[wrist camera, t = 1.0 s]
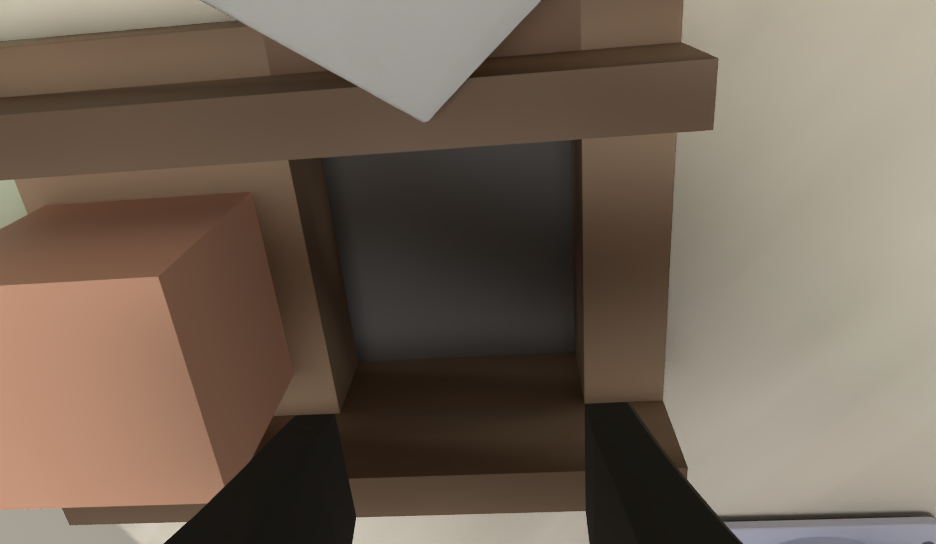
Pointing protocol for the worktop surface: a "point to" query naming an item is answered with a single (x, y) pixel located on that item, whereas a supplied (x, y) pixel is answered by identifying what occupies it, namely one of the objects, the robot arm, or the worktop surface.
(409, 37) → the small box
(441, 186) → the trap channel
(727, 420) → the worktop surface
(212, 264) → the block
